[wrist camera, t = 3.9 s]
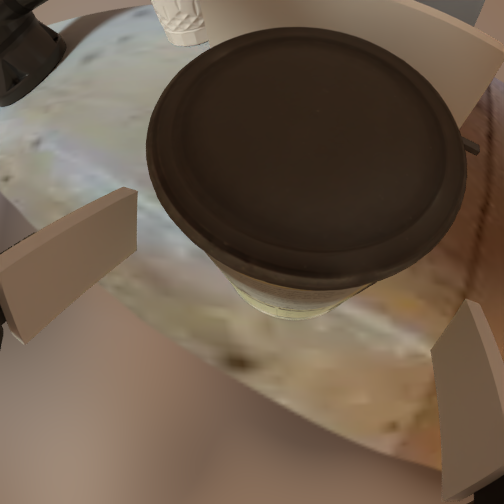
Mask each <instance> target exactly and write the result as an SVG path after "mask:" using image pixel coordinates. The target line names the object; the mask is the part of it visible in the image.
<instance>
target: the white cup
mask: <svg viewBox="0 0 504 504" xmlns="http://www.w3.org/2000/svg"><path fill="white" fill-rule="evenodd" d="M151 2H152V5H153V7H154V10H155V12H156V14H157V16H158V18H159V21H160V23H161V24H162V26H163V27H164V30H165V33H166V35H167V38H168V40H169V42H171V43H172V44H174V45H175V46H184V47H186V46H193V45H198V44H201V43H204V42H207V41H209V40H208V35H207V31H206V27H205V23H204V19H203V14H202V10H201V6H200V2H199V0H151Z"/></svg>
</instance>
